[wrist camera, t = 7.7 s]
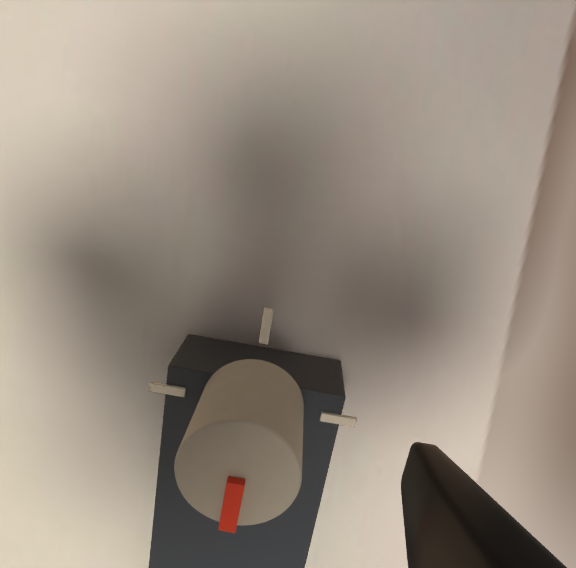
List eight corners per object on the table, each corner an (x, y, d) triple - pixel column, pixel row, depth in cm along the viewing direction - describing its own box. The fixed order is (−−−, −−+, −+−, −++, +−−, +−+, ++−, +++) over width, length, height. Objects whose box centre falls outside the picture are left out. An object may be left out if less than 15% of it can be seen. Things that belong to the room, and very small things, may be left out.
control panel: (181, 266, 19) (157, 289, 16) (369, 299, 20) (379, 328, 16) (146, 615, 26) (125, 677, 23) (287, 639, 26) (284, 704, 23)
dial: (209, 349, 17) (178, 414, 13) (313, 369, 17) (313, 441, 13) (196, 436, 18) (164, 521, 14) (293, 454, 18) (288, 545, 14)
